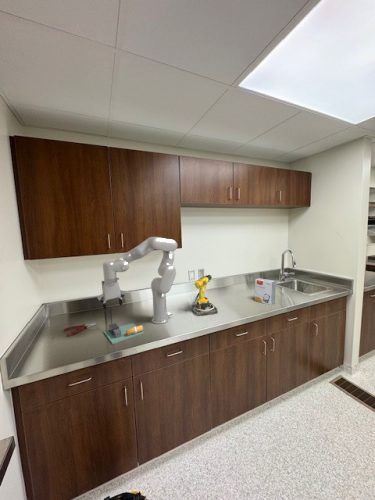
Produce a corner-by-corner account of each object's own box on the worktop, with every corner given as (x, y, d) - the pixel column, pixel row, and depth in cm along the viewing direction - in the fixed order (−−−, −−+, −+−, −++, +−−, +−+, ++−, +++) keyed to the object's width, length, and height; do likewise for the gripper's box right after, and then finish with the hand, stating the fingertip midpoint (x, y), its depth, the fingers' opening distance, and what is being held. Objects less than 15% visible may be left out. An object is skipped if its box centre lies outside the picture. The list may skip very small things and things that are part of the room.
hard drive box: (254, 301, 188) (254, 279, 186) (258, 299, 193) (258, 277, 191) (271, 305, 176) (271, 282, 175) (275, 303, 181) (275, 280, 180)
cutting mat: (133, 323, 150) (132, 317, 150) (144, 333, 135) (143, 326, 134) (103, 332, 138) (103, 325, 138) (112, 344, 123) (112, 337, 123)
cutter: (115, 328, 141) (115, 323, 141) (122, 336, 131) (121, 330, 131) (108, 330, 139) (108, 325, 138) (115, 338, 128) (114, 332, 128)
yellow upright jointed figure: (220, 313, 163) (219, 278, 161) (196, 316, 159) (195, 280, 156) (211, 305, 181) (210, 273, 179) (190, 308, 177) (189, 275, 174)
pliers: (99, 327, 148) (99, 323, 147) (67, 337, 134) (67, 333, 134) (94, 322, 156) (93, 319, 156) (63, 332, 143) (62, 328, 142)
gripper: (122, 277, 142) (124, 302, 144) (94, 282, 132) (97, 309, 134) (126, 279, 136) (128, 305, 138) (97, 284, 126) (100, 312, 127)
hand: (113, 306), depth 136 cm, fingers open, 9 cm apart
